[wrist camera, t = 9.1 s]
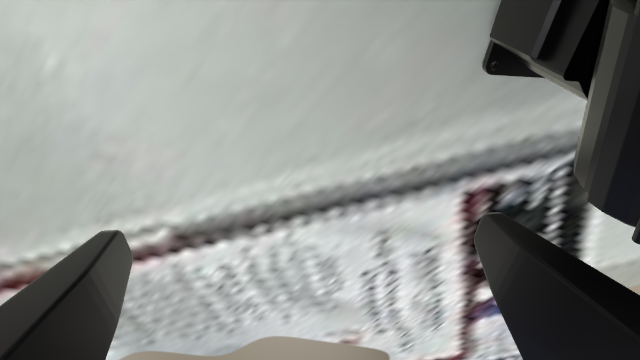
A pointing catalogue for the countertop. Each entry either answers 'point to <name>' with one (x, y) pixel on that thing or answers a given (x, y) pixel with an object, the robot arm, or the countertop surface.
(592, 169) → the robot arm
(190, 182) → the countertop surface
